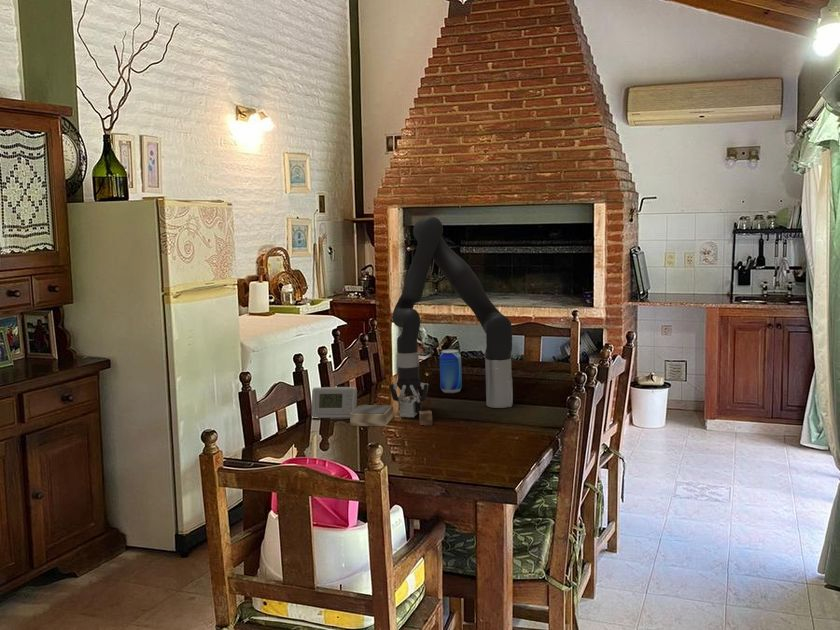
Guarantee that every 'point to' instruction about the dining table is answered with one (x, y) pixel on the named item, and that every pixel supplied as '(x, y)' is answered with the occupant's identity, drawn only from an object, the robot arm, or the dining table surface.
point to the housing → (408, 407)
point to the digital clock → (334, 402)
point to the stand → (371, 415)
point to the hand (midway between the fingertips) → (410, 412)
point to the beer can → (450, 371)
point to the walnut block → (425, 417)
